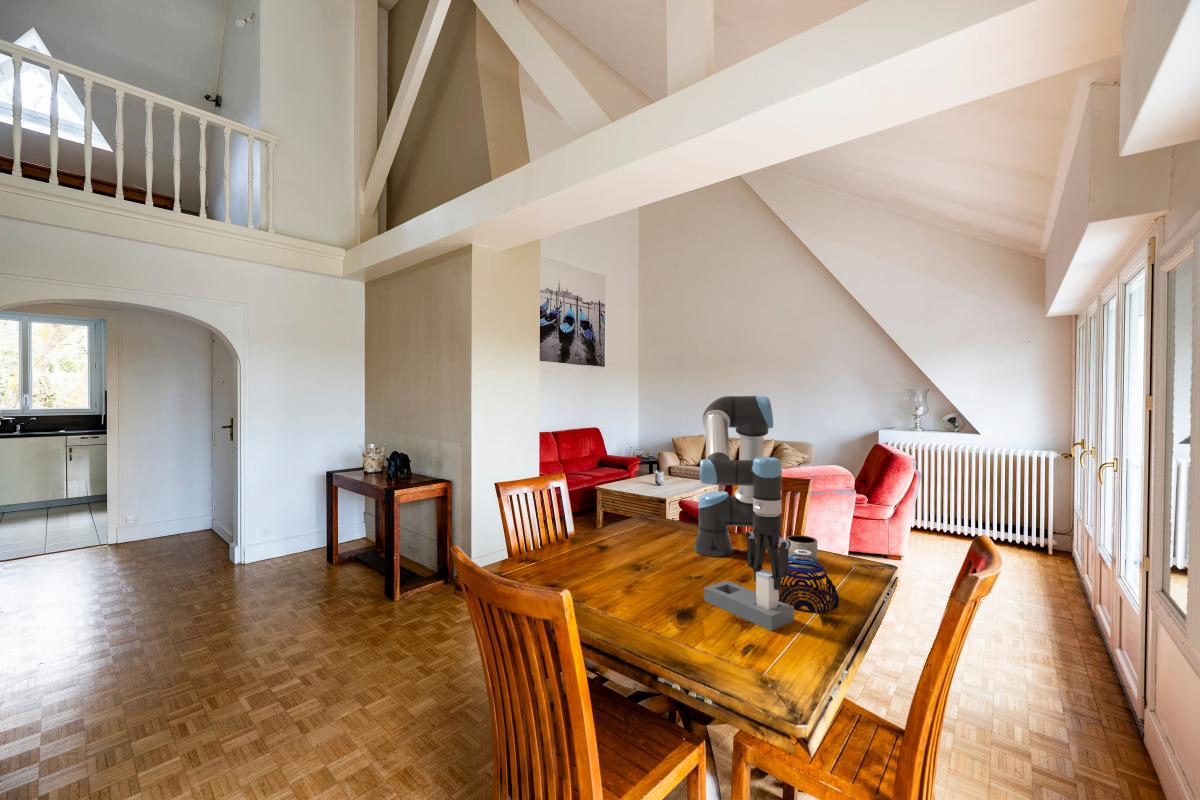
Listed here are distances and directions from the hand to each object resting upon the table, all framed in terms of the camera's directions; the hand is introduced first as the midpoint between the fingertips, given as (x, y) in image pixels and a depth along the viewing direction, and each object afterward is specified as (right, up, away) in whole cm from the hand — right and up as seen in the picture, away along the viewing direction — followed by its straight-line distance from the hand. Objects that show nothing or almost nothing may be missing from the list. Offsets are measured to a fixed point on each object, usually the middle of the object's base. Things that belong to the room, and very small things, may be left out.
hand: (767, 597), depth 138 cm
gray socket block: (-4, -6, +6) cm, 9 cm away
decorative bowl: (+16, -6, +14) cm, 22 cm away
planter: (+28, -6, +45) cm, 53 cm away
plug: (0, -5, 0) cm, 5 cm away
